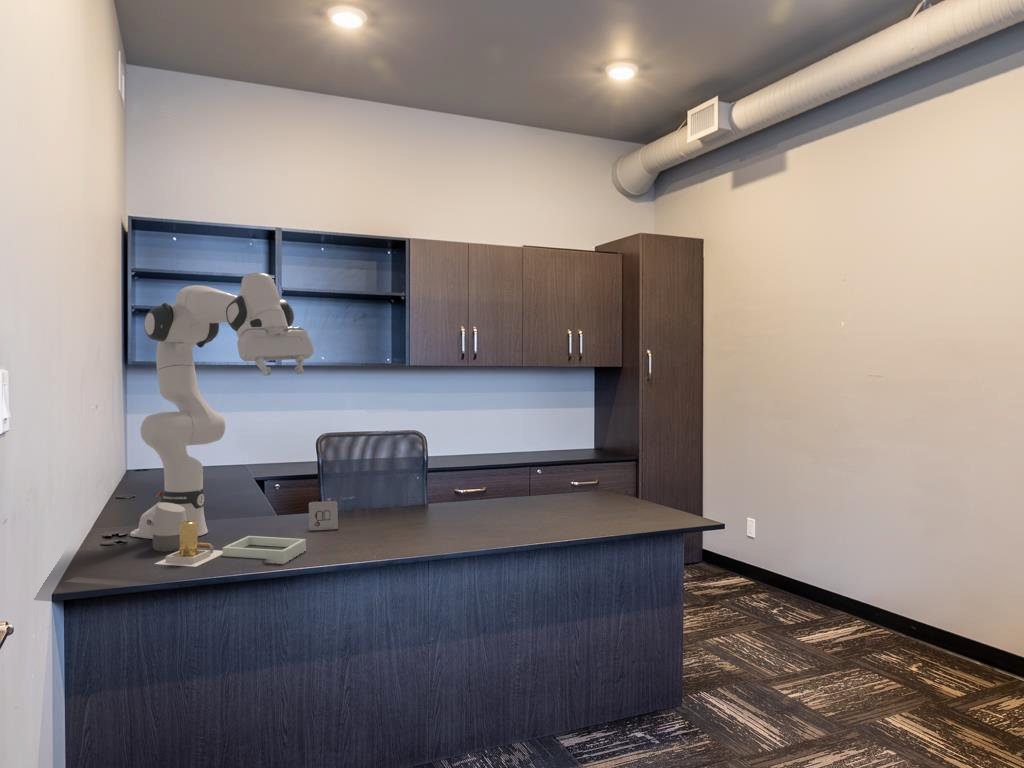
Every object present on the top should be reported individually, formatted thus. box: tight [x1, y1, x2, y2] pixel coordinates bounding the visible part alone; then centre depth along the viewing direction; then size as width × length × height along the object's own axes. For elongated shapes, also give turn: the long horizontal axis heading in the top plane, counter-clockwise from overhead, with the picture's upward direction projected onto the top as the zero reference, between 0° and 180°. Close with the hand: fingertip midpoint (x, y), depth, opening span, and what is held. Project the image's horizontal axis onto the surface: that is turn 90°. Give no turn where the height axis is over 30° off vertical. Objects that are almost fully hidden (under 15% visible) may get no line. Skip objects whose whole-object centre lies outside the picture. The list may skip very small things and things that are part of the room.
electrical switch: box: [308, 500, 339, 532], centre depth 237 cm, size 9×5×9 cm, turn 110°
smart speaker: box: [152, 502, 187, 553], centre depth 204 cm, size 10×9×14 cm
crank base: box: [154, 542, 223, 567], centre depth 195 cm, size 12×16×4 cm
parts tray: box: [221, 535, 307, 565], centre depth 202 cm, size 18×14×4 cm
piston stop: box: [179, 521, 198, 557], centre depth 192 cm, size 4×4×10 cm
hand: (284, 373), depth 189 cm, fingers open, 8 cm apart
